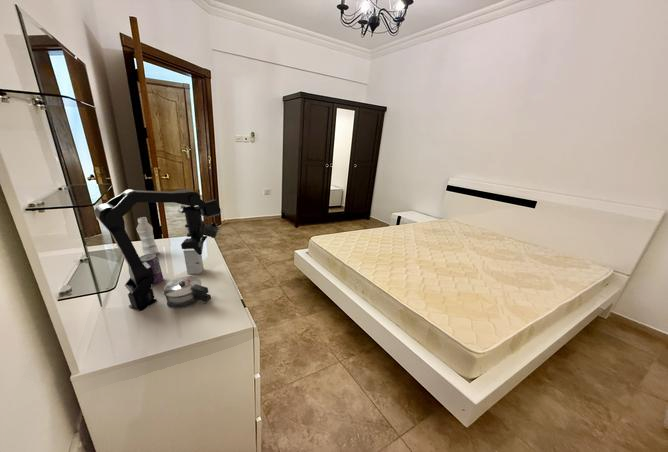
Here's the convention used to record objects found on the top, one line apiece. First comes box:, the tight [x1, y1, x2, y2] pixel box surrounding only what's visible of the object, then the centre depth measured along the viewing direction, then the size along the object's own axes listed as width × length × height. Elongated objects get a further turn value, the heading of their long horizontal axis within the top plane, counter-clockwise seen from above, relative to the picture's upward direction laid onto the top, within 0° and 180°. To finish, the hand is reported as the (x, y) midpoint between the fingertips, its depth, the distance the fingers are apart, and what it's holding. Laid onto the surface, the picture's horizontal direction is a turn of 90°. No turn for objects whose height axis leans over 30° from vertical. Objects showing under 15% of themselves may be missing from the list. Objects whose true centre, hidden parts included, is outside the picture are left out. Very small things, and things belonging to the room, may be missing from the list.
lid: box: [162, 275, 209, 298], centre depth 97 cm, size 13×18×2 cm
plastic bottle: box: [136, 216, 159, 255], centre depth 128 cm, size 6×7×20 cm
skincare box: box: [182, 249, 204, 275], centre depth 116 cm, size 6×4×12 cm
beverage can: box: [139, 254, 164, 286], centre depth 107 cm, size 7×7×12 cm
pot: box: [165, 293, 212, 310], centre depth 98 cm, size 12×18×5 cm
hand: (200, 254), depth 109 cm, fingers closed
